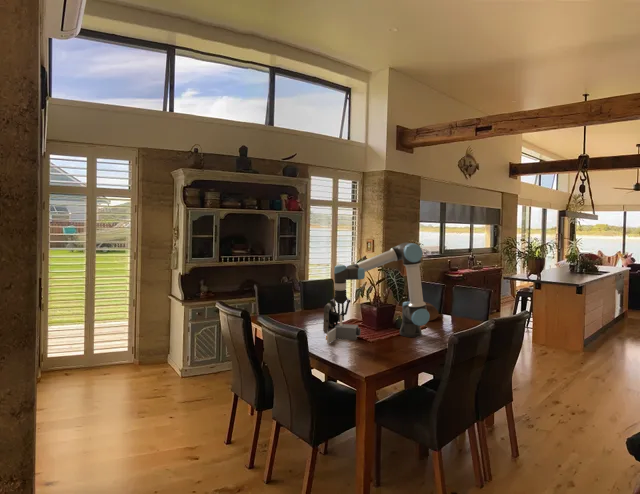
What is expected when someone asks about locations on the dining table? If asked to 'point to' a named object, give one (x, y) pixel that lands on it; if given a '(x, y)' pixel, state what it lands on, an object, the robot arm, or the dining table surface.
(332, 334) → the side door
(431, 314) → the bread
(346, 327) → the cabinet with round knob
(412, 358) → the dining table surface
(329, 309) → the vintage camera
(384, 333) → the dining table surface
